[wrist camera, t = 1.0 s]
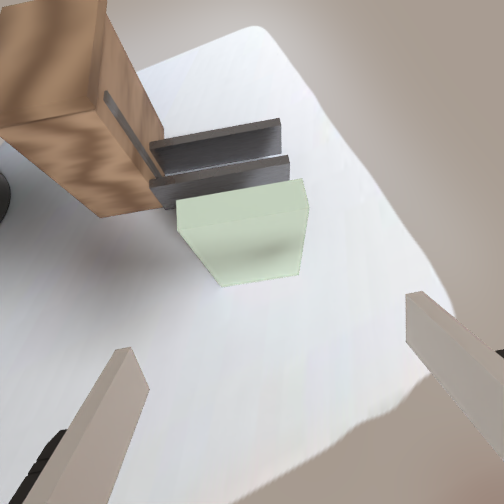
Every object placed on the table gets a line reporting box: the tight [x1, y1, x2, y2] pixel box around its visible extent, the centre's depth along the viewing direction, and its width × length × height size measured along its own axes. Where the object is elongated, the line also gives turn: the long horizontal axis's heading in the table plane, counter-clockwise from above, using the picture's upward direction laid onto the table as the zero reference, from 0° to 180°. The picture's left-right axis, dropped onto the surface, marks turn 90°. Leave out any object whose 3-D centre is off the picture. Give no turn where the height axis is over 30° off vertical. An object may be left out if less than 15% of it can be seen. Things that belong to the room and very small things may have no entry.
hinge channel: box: [149, 118, 290, 210], centre depth 37 cm, size 16×7×5 cm, turn 98°
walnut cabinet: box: [0, 0, 165, 218], centre depth 33 cm, size 10×15×17 cm, turn 8°
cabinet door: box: [176, 178, 309, 287], centre depth 27 cm, size 9×3×15 cm, turn 98°
